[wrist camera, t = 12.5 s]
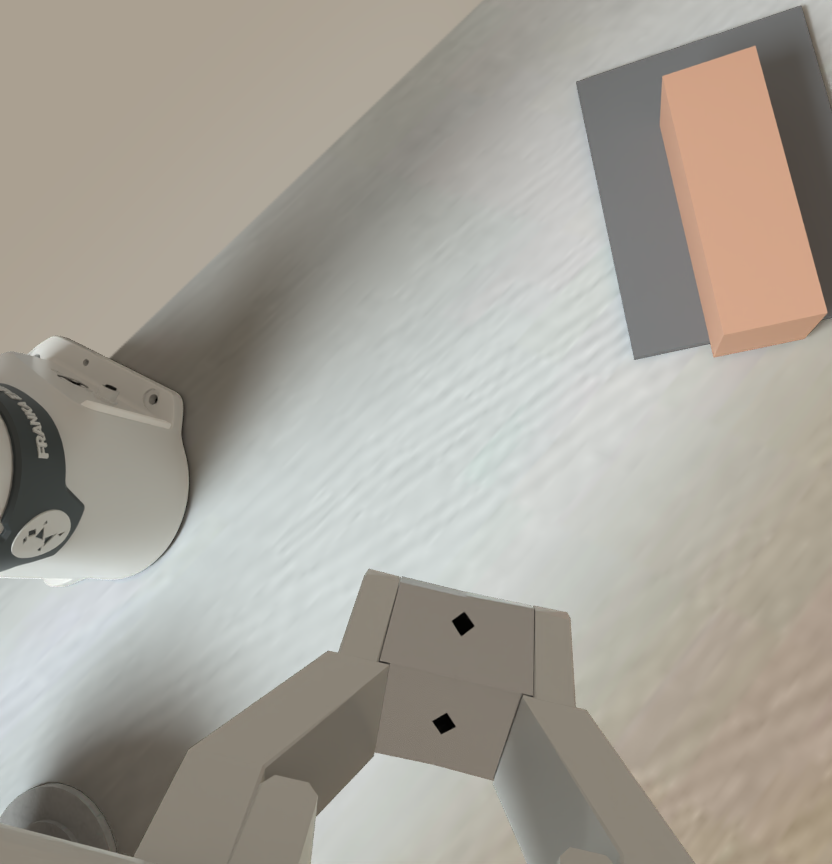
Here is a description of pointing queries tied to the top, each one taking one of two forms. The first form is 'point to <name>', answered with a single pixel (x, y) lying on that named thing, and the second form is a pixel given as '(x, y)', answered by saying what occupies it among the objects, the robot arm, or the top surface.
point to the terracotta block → (738, 206)
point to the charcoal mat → (652, 182)
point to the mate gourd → (60, 815)
